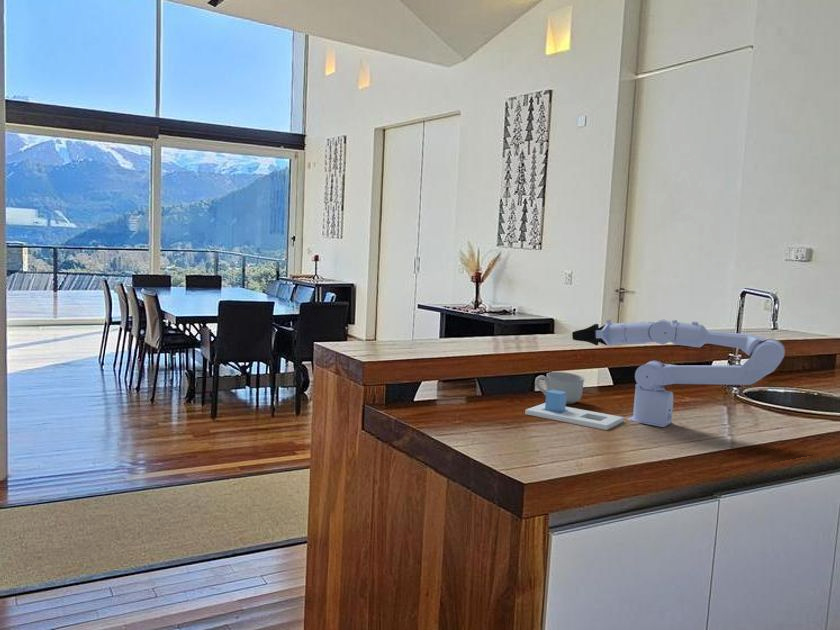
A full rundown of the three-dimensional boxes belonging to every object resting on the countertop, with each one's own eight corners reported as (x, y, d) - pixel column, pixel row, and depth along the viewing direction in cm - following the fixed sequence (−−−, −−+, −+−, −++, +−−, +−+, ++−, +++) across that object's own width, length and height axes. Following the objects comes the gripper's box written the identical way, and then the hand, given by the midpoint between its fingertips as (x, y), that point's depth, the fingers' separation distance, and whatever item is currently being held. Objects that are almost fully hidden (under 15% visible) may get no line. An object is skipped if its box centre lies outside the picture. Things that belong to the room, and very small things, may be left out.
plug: (565, 414, 188) (566, 392, 188) (558, 416, 185) (560, 394, 184) (551, 411, 190) (552, 389, 190) (544, 414, 187) (546, 391, 187)
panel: (623, 423, 183) (623, 417, 183) (606, 431, 174) (607, 425, 173) (544, 408, 196) (545, 402, 196) (525, 415, 186) (525, 409, 186)
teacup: (579, 400, 210) (581, 373, 209) (584, 408, 199) (586, 380, 199) (532, 396, 211) (534, 370, 211) (534, 404, 201) (536, 376, 200)
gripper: (633, 319, 195) (584, 322, 201) (619, 317, 182) (567, 320, 189) (634, 344, 194) (586, 346, 201) (620, 345, 182) (569, 347, 189)
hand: (577, 335), depth 195 cm, fingers open, 7 cm apart
